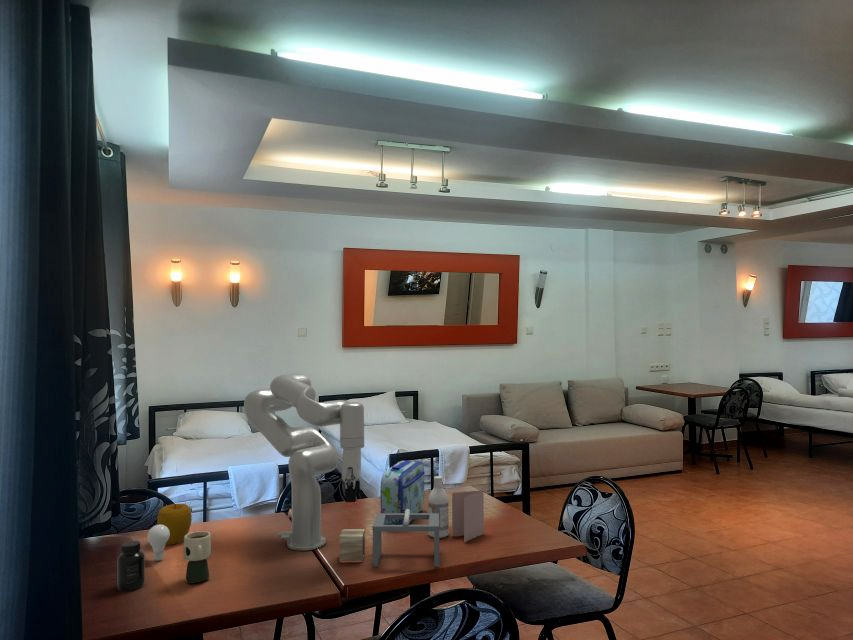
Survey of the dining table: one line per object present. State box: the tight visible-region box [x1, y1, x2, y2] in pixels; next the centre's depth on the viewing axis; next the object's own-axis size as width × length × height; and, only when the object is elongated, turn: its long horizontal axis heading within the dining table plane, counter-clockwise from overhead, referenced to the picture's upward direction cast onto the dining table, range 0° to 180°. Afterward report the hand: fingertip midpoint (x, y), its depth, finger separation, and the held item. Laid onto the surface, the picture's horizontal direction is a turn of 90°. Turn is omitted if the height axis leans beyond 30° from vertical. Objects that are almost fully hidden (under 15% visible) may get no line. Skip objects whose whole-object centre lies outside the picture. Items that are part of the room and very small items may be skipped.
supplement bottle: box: [116, 540, 146, 592], centre depth 168 cm, size 7×7×12 cm
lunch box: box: [379, 460, 426, 525], centre depth 227 cm, size 26×11×21 cm, turn 162°
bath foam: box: [427, 475, 450, 539], centre depth 209 cm, size 7×7×20 cm
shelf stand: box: [372, 509, 440, 568], centre depth 187 cm, size 20×13×14 cm, turn 89°
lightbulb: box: [146, 524, 170, 562], centre depth 187 cm, size 6×6×11 cm
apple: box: [156, 503, 193, 546], centre depth 203 cm, size 11×11×13 cm
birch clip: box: [339, 528, 366, 562], centre depth 187 cm, size 7×7×8 cm
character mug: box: [183, 530, 212, 584], centre depth 172 cm, size 11×7×13 cm, turn 28°
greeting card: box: [451, 490, 485, 543], centre depth 206 cm, size 11×7×15 cm, turn 105°
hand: (352, 497), depth 188 cm, fingers open, 9 cm apart
